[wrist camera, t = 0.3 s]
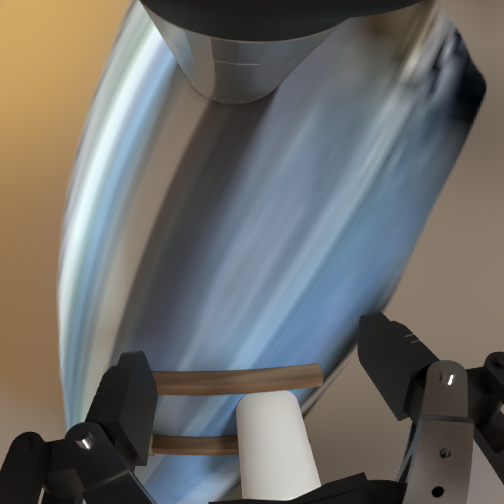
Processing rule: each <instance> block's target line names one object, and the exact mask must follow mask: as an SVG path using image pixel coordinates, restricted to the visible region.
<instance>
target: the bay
mask: <svg viewBox="0 0 504 504" xmlns="http://www.w3.org/2000/svg"><path fill="white" fill-rule="evenodd" d="M151 372H152V375H153V377H154V380H155V382H156V386H157V393H158V395H225V394H246V393H260V392H273V391H283V390H293V389H302V388H310V387H317V386H322V383H323V378H324V376H323V374H322V372H321V369H320V367H319V364H318V363H316V364H308V365H298V366H288V367H278V368H265V369H250V370H232V371H199V372H164V371H151ZM306 433H307V437H308V440H309V444H310V439H309V435H308V431H307V429H306ZM154 453H157V454H174V455H234V454H239V446H238V436H219V437H181V436H158V435H154V434H153V432H152V433H151V439H150V445H149V452H148V455H149V456H154Z"/></svg>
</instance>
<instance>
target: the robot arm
mask: <svg viewBox="0 0 504 504" xmlns="http://www.w3.org/2000/svg"><path fill="white" fill-rule="evenodd" d="M139 1H140V2H141V4H142V5H143V7H144V9H145V10H146V12H147V13H148V15H149V17H150V18H151V19H152V21H153V22H154V24H155V26H156V27H157V29H158V31H159V32H160V34H161V36H162V37H163V39H164V41H165V42H166V44H167V46H168V47H169V49H170V51H171V52H172V54H173V56H174V57H175V59H176V61H177V62H178V64H179V66H180V67H181V69H182V71H183V73H184V74H185V76H186V78H187V79H188V81H189V83H190V84H191V85H192V86H193V88H194V89H195V90H196V91H197V92H199V93H200V94H201V95H203V96H204V97H206V98H208V99H210V100H212V101H214V102H218V103H222V104H227V105H242V104H248V103H252V102H255V101H258V100H260V99H262V98H264V97H265V96H267V95H269V94H270V93H271V92H272V91H273V90H275V89H276V88H277V87H278V86H279V85H280V84H281V83H282V82H283V81H284V80H285V79H286V78H287V77H288V76H289V75H290V74H291V73H292V72H293V71H294V70H295V68H296V67H297V66H298V65H299V64H300V63H301V62H303V61H304V60H305V59H306V58H307V57H308V56H309V55H310V54H311V53H312V52H313V51H314V50H315V49H316V48H317V47H318V46H319V45H320V44H321V43H322V42H323V41H324V40H325V39H326V38H327V37H329V36H330V35H331V34H332V32H334V31H335V30H336V29H337V28H338V27H339V26H340V25H341V24H342V23H344V22H345V21H346V20H347V19H348V18H350V17H360V16H368V15H376V14H381V13H387V12H391V11H395V10H399V9H402V8H405V7H408V6H411V5H414V4H416V3H419V2H421V1H423V0H139ZM358 357H359V361H360V363H361V365H362V366H363V368H364V369H365V371H366V372H367V374H368V375H369V377H370V378H371V380H372V381H373V383H374V384H375V386H376V387H377V389H378V390H379V392H380V394H381V395H382V397H383V398H384V400H385V401H386V403H387V404H388V406H389V407H390V409H391V410H392V412H393V413H394V415H395V416H396V418H397V420H398V421H401V420H403V419H406V418H408V417H410V418H411V420H412V424H411V427H410V431H409V435H408V440H407V444H406V447H405V451H404V455H403V459H402V462H401V466H400V469H399V472H398V474H397V477H396V479H395V481H391V480H367V478H366V476H365V474H364V472H362V473H359V474H356V475H353V476H350V477H346V478H343V479H340V480H337V481H333V482H329V483H326V484H324V485H322V486H320V487H318V488H316V489H314V490H312V491H310V492H308V493H306V494H303V495H301V496H299V497H297V498H294V499H292V500H260V499H240V500H230V501H218V502H208V503H209V504H466V501H467V495H468V489H469V482H470V474H471V464H472V453H473V439H474V440H475V442H476V443H477V445H478V446H479V448H480V449H481V450H482V452H483V453H484V455H485V456H486V458H487V460H488V461H489V463H490V464H491V466H492V467H493V469H494V470H495V472H496V473H497V475H498V477H499V478H500V480H501V481H502V483H503V485H504V414H503V413H502V412H501V411H500V409H501V407H502V405H504V352H494V353H491V354H489V355H488V356H487V358H486V360H485V363H484V366H483V367H478V368H472V369H466V370H465V368H464V367H463V366H462V365H460V364H459V363H457V362H455V361H450V360H441V361H440V360H439V359H438V358H437V357H436V356H435V355H434V354H433V353H432V352H431V351H430V350H429V349H428V348H427V347H426V346H425V345H424V344H423V343H422V342H421V341H419V339H418V338H417V337H416V336H415V335H413V333H412V332H411V331H410V330H409V329H408V328H407V327H406V326H404V325H403V324H400V323H398V322H396V321H390V320H389V319H388V318H387V317H386V316H385V315H384V314H383V313H382V312H380V311H379V312H375V313H371V314H366V315H362V316H361V317H360V320H359V335H358ZM99 386H100V387H98V389H97V392H96V395H95V397H94V399H93V401H92V404H91V407H90V409H89V412H88V414H87V417H86V419H85V422H82V423H79V424H76V425H75V426H73V427H72V428H71V429H69V431H68V432H67V433H66V435H65V438H64V439H61V440H56V441H50V442H45V441H44V440H43V439H42V438H41V436H40V435H39V434H37V433H35V432H25V433H22V434H21V435H19V436H17V437H16V438H15V439H14V440H13V442H12V444H11V446H10V448H9V451H8V453H7V455H6V458H5V460H4V463H3V465H2V468H1V470H0V504H38V501H39V497H40V493H41V490H42V488H43V489H44V494H43V498H42V502H41V504H82V503H83V498H84V500H85V502H86V504H157V503H156V502H155V500H154V499H153V498H152V497H151V495H150V494H149V493H148V492H147V490H146V489H145V488H144V486H143V485H142V484H141V482H140V481H139V480H138V478H137V477H136V476H135V474H134V470H135V466H147V459H148V452H149V445H150V439H151V433H152V427H153V421H154V415H155V409H156V403H157V397H158V393H157V386H156V382H155V380H154V377H153V375H152V372H151V369H150V367H149V364H148V362H147V359H146V356H145V354H144V352H143V351H136V352H123V353H122V354H121V357H120V359H119V362H118V364H117V366H112V367H111V368H110V369H109V370H108V371H107V372H106V373H105V374H104V375H103V377H102V380H101V382H100V384H99Z"/></svg>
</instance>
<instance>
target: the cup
mask: <svg viewBox="0 0 504 504" xmlns="http://www.w3.org/2000/svg"><path fill="white" fill-rule="evenodd" d="M236 419H237V433H238V446H239V459H240V471H241V483H242V494H243V499H260V500H292V499H294V498H297V497H299V496H301V495H303V494H306V493H308V492H310V491H312V490H314V489H316V488H318V487H320V486H321V484H320V480H319V476H318V473H317V469H316V466H315V462H314V459H313V455H312V451H311V448H310V444H309V440H308V437H307V433H306V429H305V426H304V422H303V419H302V415H301V411H300V408H299V404H298V401H297V398H296V397H295V396H294V395H293V394H292V393H291V392H289V391H287V390H283V391H273V392H260V393H249V394H247V395H246V396H244V397H243V398H242V399H241V400H240V401H239V402H238V404H237V407H236Z"/></svg>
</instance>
